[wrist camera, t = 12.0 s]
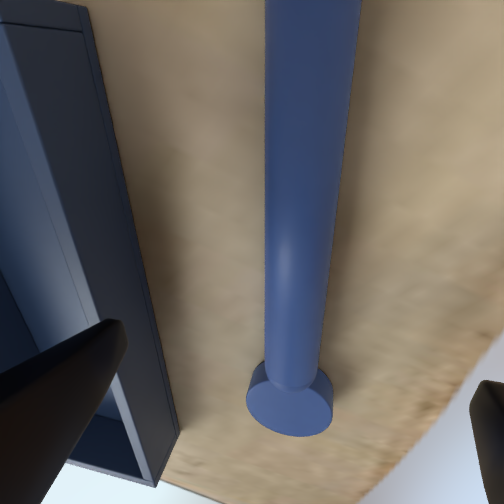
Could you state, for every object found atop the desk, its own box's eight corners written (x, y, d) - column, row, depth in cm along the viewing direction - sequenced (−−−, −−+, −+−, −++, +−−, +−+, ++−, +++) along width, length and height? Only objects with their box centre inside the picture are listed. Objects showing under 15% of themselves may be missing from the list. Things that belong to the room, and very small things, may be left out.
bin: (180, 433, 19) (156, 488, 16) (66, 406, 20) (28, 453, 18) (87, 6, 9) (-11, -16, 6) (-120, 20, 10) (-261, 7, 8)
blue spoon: (240, -68, 7) (209, -108, 6) (411, -88, 7) (435, -139, 5) (253, 403, 16) (242, 444, 14) (328, 419, 15) (327, 464, 13)
